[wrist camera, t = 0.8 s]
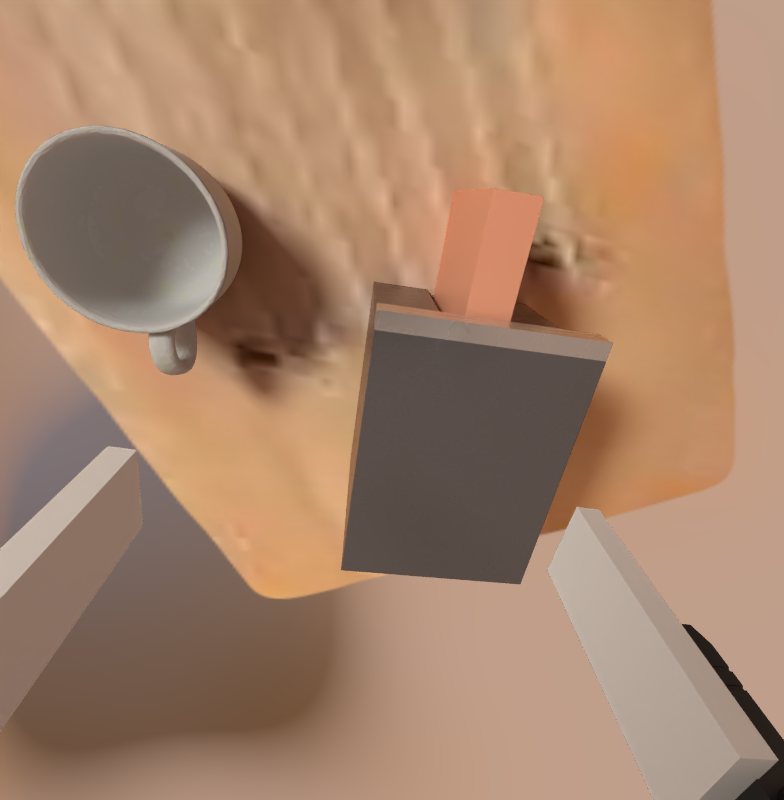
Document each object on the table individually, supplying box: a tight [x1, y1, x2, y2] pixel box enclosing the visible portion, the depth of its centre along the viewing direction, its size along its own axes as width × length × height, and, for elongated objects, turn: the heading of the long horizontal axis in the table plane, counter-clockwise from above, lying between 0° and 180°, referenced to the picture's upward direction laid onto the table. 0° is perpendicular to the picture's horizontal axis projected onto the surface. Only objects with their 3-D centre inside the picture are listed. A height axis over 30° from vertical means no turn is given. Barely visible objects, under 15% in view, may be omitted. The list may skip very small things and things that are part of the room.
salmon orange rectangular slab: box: [433, 188, 544, 322], centre depth 28 cm, size 12×2×11 cm, turn 171°
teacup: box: [15, 126, 242, 375], centre depth 28 cm, size 14×11×8 cm
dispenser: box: [341, 282, 613, 584], centre depth 30 cm, size 17×12×13 cm
